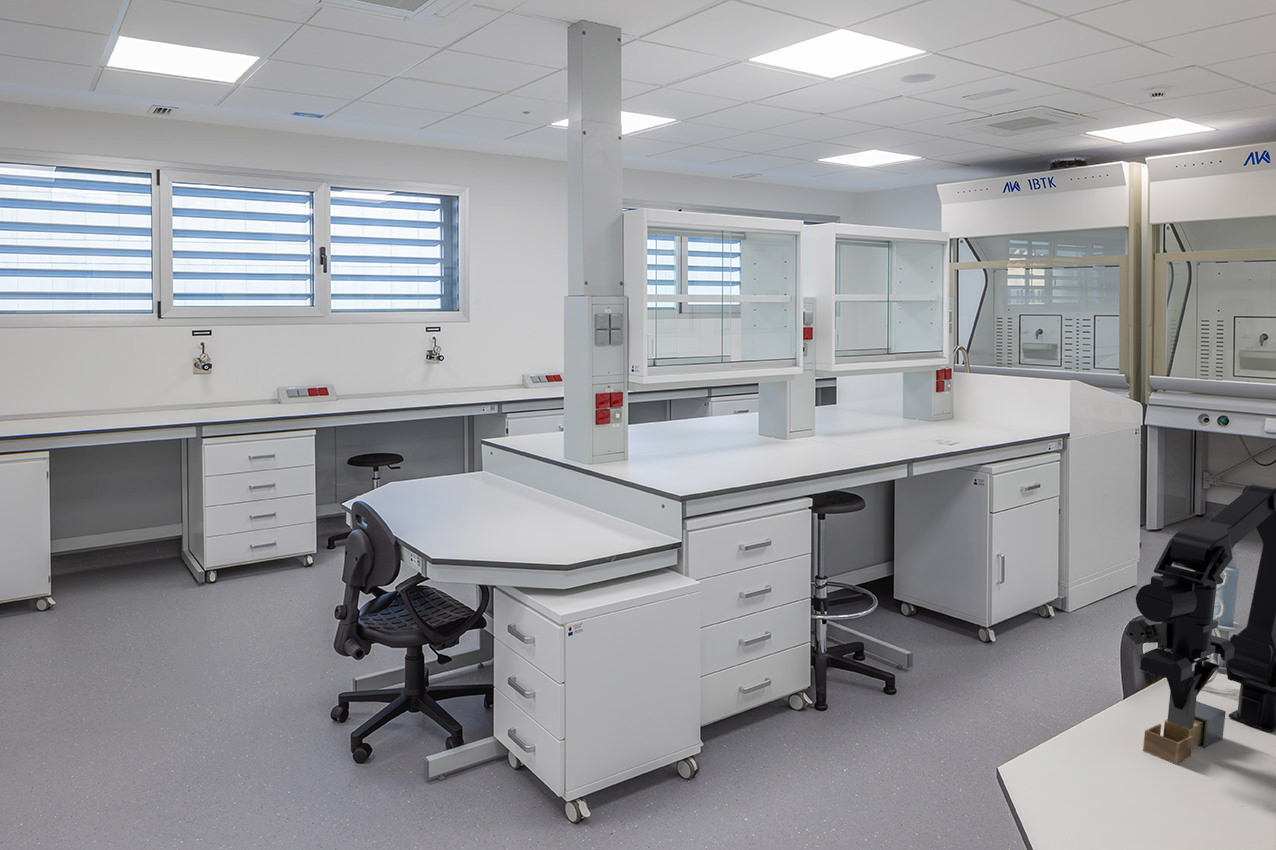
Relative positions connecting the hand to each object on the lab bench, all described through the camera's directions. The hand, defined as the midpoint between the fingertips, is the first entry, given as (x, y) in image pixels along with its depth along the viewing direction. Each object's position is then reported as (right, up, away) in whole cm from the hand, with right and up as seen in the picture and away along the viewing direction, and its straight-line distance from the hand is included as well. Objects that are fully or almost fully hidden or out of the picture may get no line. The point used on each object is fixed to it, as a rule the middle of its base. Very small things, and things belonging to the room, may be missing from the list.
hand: (1182, 706), depth 137 cm
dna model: (+20, -5, +26) cm, 33 cm away
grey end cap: (+5, -7, +4) cm, 10 cm away
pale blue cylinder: (+29, -4, +34) cm, 45 cm away
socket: (-3, -7, -1) cm, 8 cm away
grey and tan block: (+3, -6, +3) cm, 7 cm away
